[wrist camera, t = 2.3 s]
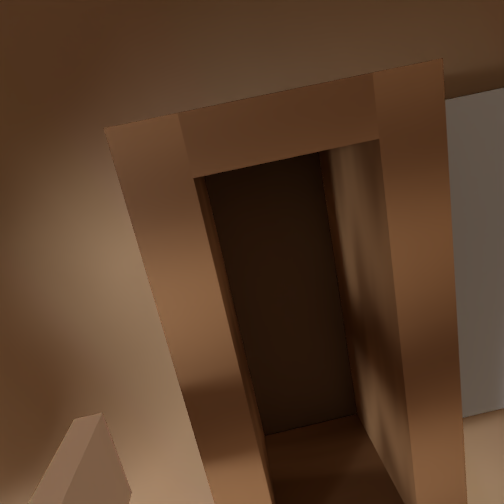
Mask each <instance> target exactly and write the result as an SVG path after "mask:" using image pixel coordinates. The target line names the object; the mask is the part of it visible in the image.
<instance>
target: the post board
mask: <svg viewBox="0 0 504 504" xmlns="http://www.w3.org/2000/svg"><path fill="white" fill-rule="evenodd" d="M445 107H446V125H447V143H448V162H449V180H450V198H451V216H452V234H453V253H454V271H455V289H456V307H457V325H458V344H459V362H460V380H461V398H462V416H463V418H464V417H469V416H473V415H477V414H481V413H485V412H490V411H494V410H498V409H502V408H504V88H499V89H495V90H490V91H485V92H480V93H476V94H471V95H466V96H461V97H457V98H452V99H447V100H445Z"/></svg>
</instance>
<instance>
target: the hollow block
mask: <svg viewBox="0 0 504 504" xmlns="http://www.w3.org/2000/svg"><path fill="white" fill-rule="evenodd" d="M104 131H105V135H106V138H107V141H108V145H109V148H110V151H111V155H112V158H113V162H114V165H115V168H116V172H117V175H118V178H119V182H120V185H121V189H122V192H123V195H124V199H125V202H126V206H127V209H128V212H129V216H130V219H131V222H132V226H133V229H134V233H135V236H136V239H137V243H138V246H139V249H140V253H141V256H142V260H143V263H144V266H145V270H146V273H147V276H148V280H149V283H150V287H151V290H152V293H153V297H154V300H155V304H156V307H157V310H158V314H159V317H160V320H161V324H162V327H163V331H164V334H165V337H166V341H167V344H168V347H169V351H170V354H171V358H172V361H173V364H174V368H175V371H176V374H177V378H178V381H179V385H180V388H181V391H182V395H183V398H184V402H185V405H186V408H187V412H188V415H189V418H190V422H191V425H192V429H193V432H194V435H195V439H196V442H197V445H198V449H199V452H200V456H201V459H202V462H203V466H204V469H205V472H206V476H207V479H208V483H209V486H210V489H211V493H212V496H213V500H214V503H215V504H467V489H466V471H465V453H464V435H463V416H462V398H461V380H460V362H459V344H458V325H457V307H456V289H455V271H454V253H453V234H452V216H451V198H450V180H449V162H448V143H447V125H446V107H445V89H444V70H443V58H441V59H436V60H431V61H426V62H421V63H416V64H412V65H407V66H402V67H397V68H392V69H387V70H383V71H378V72H373V73H368V74H363V75H358V76H353V77H349V78H344V79H339V80H334V81H329V82H324V83H320V84H315V85H310V86H305V87H300V88H295V89H291V90H286V91H281V92H276V93H271V94H266V95H262V96H257V97H252V98H247V99H242V100H237V101H232V102H228V103H223V104H218V105H213V106H208V107H203V108H199V109H194V110H189V111H184V112H179V113H174V114H170V115H165V116H160V117H155V118H150V119H145V120H140V121H136V122H131V123H126V124H121V125H116V126H111V127H107V128H104ZM314 152H319V158H320V165H321V172H322V178H323V185H324V192H325V199H326V206H327V212H328V219H329V226H330V233H331V240H332V246H333V253H334V260H335V267H336V273H337V280H338V287H339V294H340V301H341V307H342V314H343V321H344V328H345V335H346V341H347V348H348V355H349V362H350V368H351V375H352V382H353V389H354V396H355V402H356V409H357V414H356V415H351V416H347V417H343V418H339V419H335V420H330V421H326V422H322V423H318V424H313V425H309V426H305V427H301V428H297V429H292V430H288V431H284V432H280V433H275V434H271V435H267V436H265V435H264V431H263V427H262V423H261V418H260V414H259V410H258V405H257V401H256V397H255V393H254V388H253V384H252V380H251V375H250V371H249V367H248V363H247V358H246V354H245V350H244V345H243V341H242V337H241V333H240V328H239V324H238V320H237V315H236V311H235V307H234V302H233V298H232V294H231V290H230V285H229V281H228V277H227V272H226V268H225V264H224V260H223V255H222V251H221V247H220V242H219V238H218V234H217V230H216V225H215V221H214V217H213V212H212V208H211V204H210V200H209V195H208V191H207V187H206V182H205V178H204V176H206V175H211V174H215V173H220V172H225V171H230V170H234V169H239V168H244V167H248V166H253V165H258V164H263V163H267V162H272V161H277V160H281V159H286V158H291V157H295V156H300V155H305V154H310V153H314Z"/></svg>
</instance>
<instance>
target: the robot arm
mask: <svg viewBox="0 0 504 504" xmlns="http://www.w3.org/2000/svg"><path fill="white" fill-rule="evenodd" d="M131 493H132V492H131V489H130V486H129V484H128V481H127V478H126V475H125V473H124V470H123V467H122V465H121V462H120V459H119V456H118V454H117V451H116V448H115V445H114V443H113V440H112V437H111V434H110V432H109V429H108V426H107V424H106V421H105V418H104V415H103V413H98V414H93V415H89V416H84V417H80V418H75V419H74V420H73V422H72V424H71V425H70V427H69V429H68V431H67V433H66V435H65V436H64V438H63V440H62V442H61V444H60V446H59V447H58V449H57V451H56V453H55V455H54V457H53V458H52V460H51V462H50V464H49V466H48V468H47V469H46V471H45V473H44V475H43V477H42V479H41V481H40V482H39V484H38V486H37V488H36V490H35V492H34V493H33V495H32V497H31V499H30V501H29V503H28V504H129V501H130V497H131Z"/></svg>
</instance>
